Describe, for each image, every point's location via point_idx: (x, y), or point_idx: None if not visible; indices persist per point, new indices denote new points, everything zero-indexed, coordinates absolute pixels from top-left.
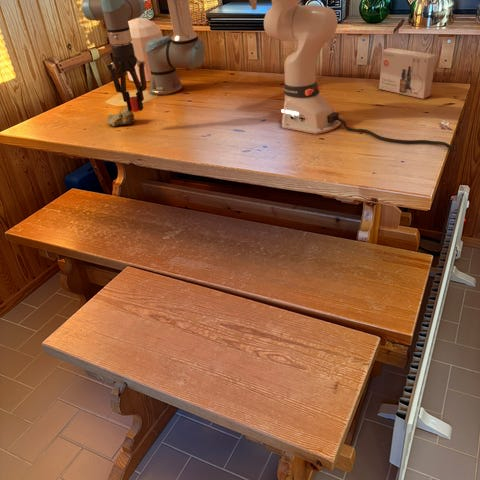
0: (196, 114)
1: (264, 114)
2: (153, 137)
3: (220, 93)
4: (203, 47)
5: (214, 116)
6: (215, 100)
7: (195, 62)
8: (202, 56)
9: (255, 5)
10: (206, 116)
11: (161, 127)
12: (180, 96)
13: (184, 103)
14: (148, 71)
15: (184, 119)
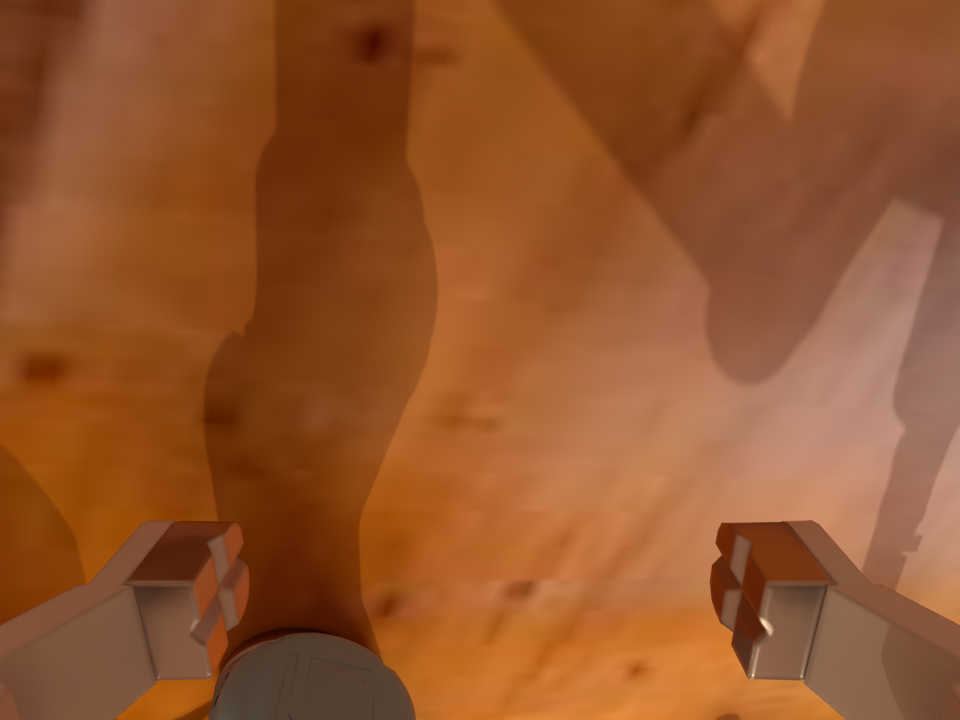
0: None
1: (907, 240)
2: None
3: (439, 449)
4: (266, 706)
5: (802, 485)
6: (554, 477)
7: (408, 693)
8: (304, 665)
9: (857, 588)
10: (783, 519)
11: None
12: (425, 630)
13: (545, 610)
14: None
15: None
